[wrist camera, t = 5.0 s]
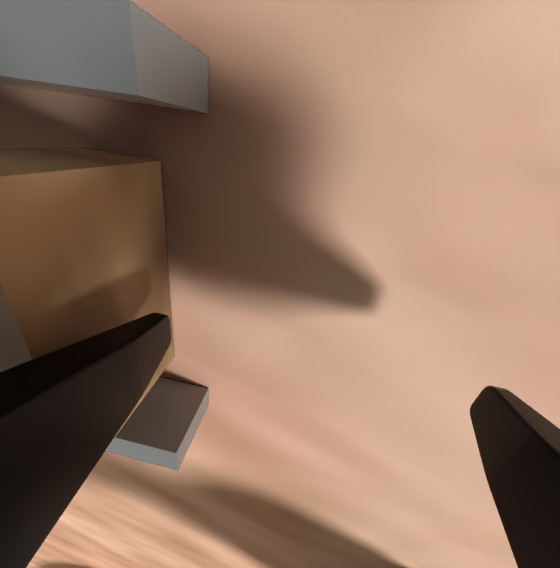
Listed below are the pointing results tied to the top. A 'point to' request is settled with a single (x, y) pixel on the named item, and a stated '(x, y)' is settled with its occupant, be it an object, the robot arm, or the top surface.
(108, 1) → the corral
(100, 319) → the wooden t-shaped block
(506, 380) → the top surface
